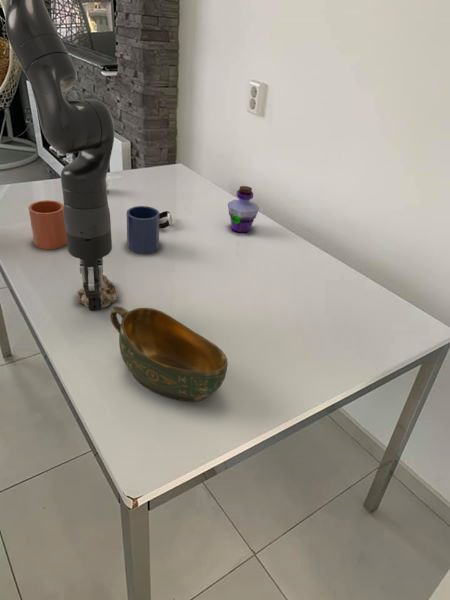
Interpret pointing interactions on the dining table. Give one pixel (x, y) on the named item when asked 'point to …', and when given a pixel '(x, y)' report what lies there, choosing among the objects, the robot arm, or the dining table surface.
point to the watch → (168, 222)
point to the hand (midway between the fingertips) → (95, 308)
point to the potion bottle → (242, 210)
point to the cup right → (143, 229)
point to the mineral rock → (106, 290)
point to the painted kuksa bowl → (168, 354)
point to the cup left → (48, 224)
